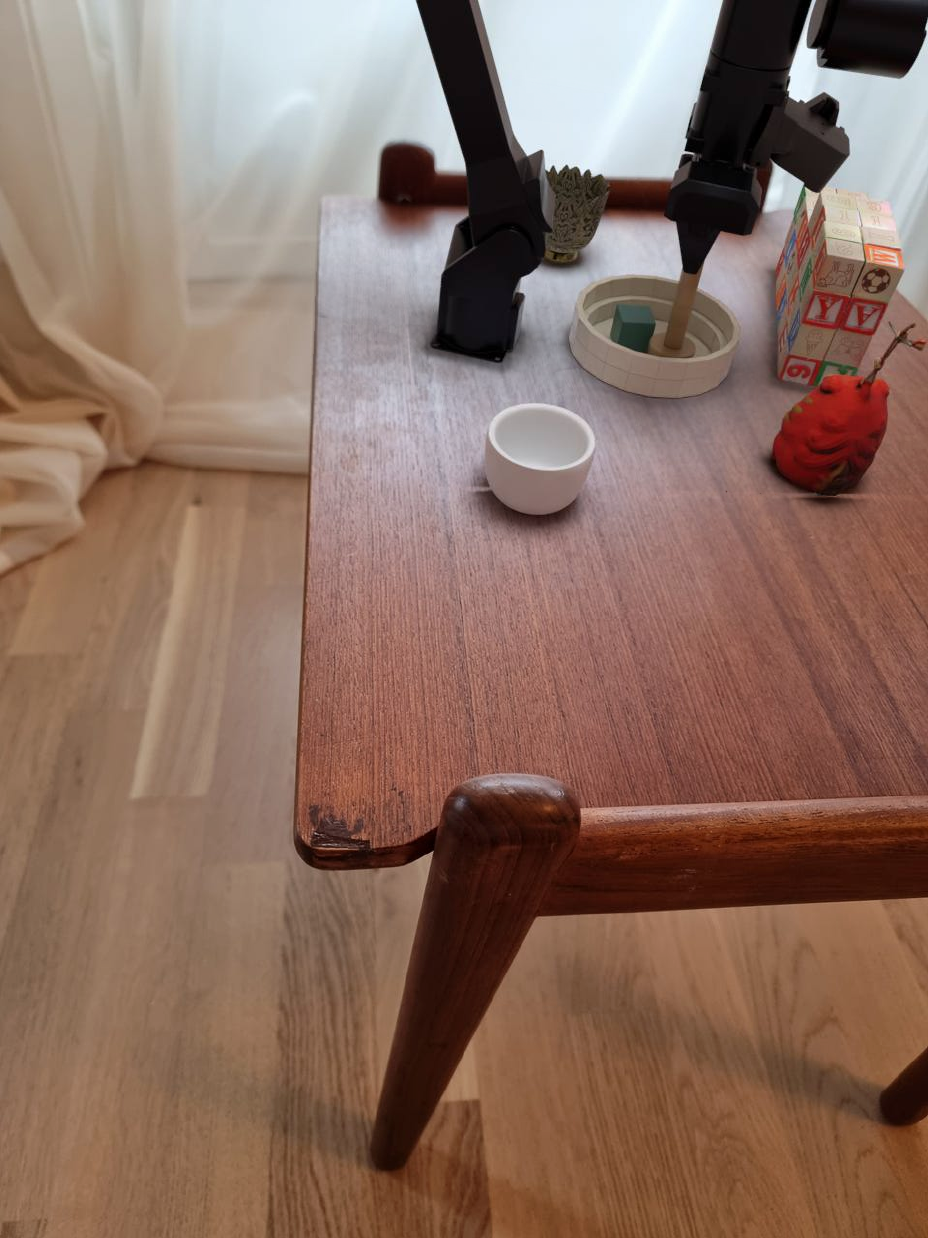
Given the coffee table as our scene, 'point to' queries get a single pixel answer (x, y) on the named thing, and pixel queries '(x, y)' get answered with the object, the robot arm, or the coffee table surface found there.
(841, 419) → the red clay folk toy
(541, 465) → the teacup
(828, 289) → the stack of blocks
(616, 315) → the block
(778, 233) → the coffee table surface
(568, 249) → the cup
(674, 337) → the tan rod with disc
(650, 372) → the bowl
